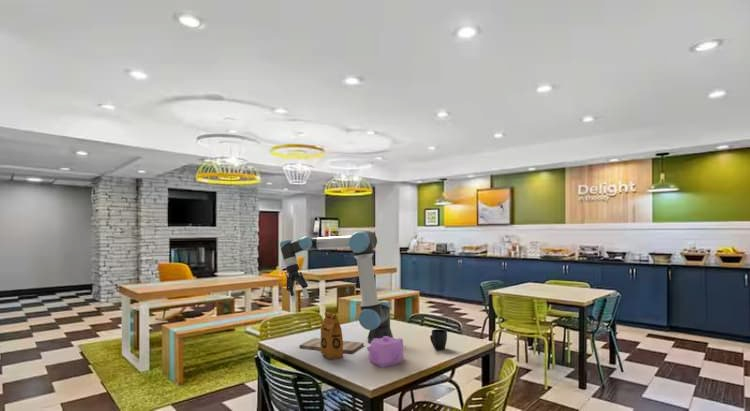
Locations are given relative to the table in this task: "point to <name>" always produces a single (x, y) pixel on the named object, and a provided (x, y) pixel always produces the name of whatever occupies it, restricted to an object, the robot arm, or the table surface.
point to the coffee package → (331, 337)
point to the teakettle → (386, 351)
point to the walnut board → (347, 345)
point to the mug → (439, 339)
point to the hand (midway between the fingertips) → (301, 299)
